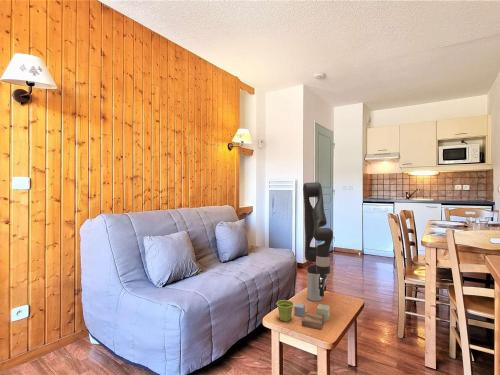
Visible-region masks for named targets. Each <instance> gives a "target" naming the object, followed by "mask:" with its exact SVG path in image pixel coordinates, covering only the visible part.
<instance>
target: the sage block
mask: <svg viewBox="0 0 500 375" xmlns="http://www.w3.org/2000/svg"><path fill="white" fill-rule="evenodd" d="M330 308H331V306H330V305H329V304H328V305H327V304H322V303H318V304H317V307H316V314H319V315H324V321H325V322H326V321H327V322H329V319H330V315H331V314H330Z"/></svg>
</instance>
